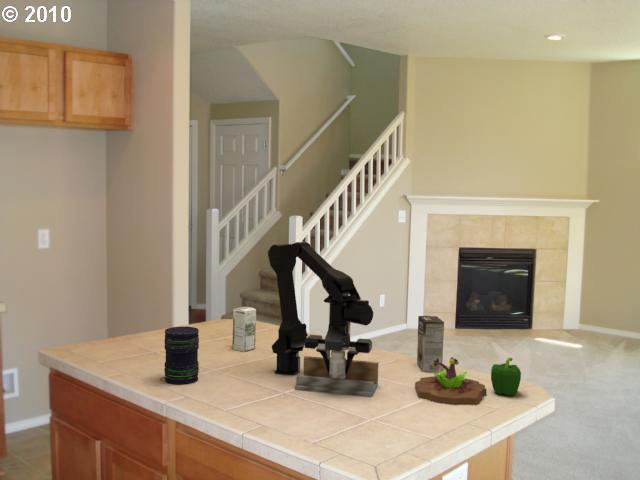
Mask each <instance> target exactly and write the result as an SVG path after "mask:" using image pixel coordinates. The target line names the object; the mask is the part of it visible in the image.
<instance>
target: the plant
mask: <svg viewBox="0 0 640 480" xmlns="http://www.w3.org/2000/svg"><path fill="white" fill-rule="evenodd" d="M448 362H449V367H448V366H447V365H445V363H443V362H442V363H439V362H434V363H433V364H432V367H434V368H435V367H436V366H437V364H439V365H441V366H442V368H444V370H442V371H439V372H438V373H437V372H432V374H433V375H434V376H427V377H426V376H424V377H420V379H419V380H418V381H415V383H414V390H415V393H416V396H417V398H418V397H419V398H418V399H421V398H422V399H423V400H426V399H427V401H429V400H430V401H429V402H432V401H433V402H432V403H437V404H443V403H444V405H453V406H457V405H458V406H460V405H470V406H477V405H479V404H480V402H481V401H483V397H485V396H487V391H488V390H487V388H486V385H485V384H483V383H481V382H479V381H477V380H474V379H471V378H467V377H465V376H467V372H461V373H459V374H458V375H457V372H456V365H459V360H458V359H457V358H454V357H453V356H451V357H450V359H449V361H448Z"/></svg>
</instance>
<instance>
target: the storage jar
mask: <svg viewBox="0 0 640 480" xmlns="http://www.w3.org/2000/svg"><path fill="white" fill-rule="evenodd" d="M199 332H200V331H199V328H197V327H193V326H173V327H167V328H165V330H164V342H163V343H164V350H165V362H164V365H163V366H164V369H163V371H164V377H165V378H164V382H165V383H166V384H169V385H174V386H186V385H191V384H196V383H197V382H198V381H199V371H200V369H199V368H200V367H199V364H200V363H199V361H198V360H199V359H198V356H199V355H198V354H199V352H198V350H199V345H200V338H199Z"/></svg>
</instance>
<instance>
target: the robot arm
mask: <svg viewBox="0 0 640 480" xmlns="http://www.w3.org/2000/svg"><path fill="white" fill-rule="evenodd" d="M267 256H268V262H269V266H270V267H271V269H272V270H273V272H274V273H275V274H276V280H277V289H278V297H279V305H280V306H279V307H280V313H281V314H280V315H281V322H280V326H279V328H278V329H277V331H278V336H277V337H278V338H277V339H276V340H275V341H274V342H273V344H272V345H271V349H272V350H271V351H272V353H274V354H276V370H274V373H275V374H280V375H282V374H283V375H293V376H295V375H297V373H298V372H299V371H300V370H301V356H300V355H299V354H300V352H303V351H304V348H305V349H311V350H312V349H314V350H315V351H316V352H318V353H320V355H321V356H322V358H323V359H324V362H325V365H326V368H327V371H328V373H329V369H330V358H331V351H332V350H334V351H341V350H342V348H343V347H346V348H349V349H348V351H347V352H346V360H347V361H346V369H345V374H347V373H348V370H349V368H350V365H351V362H352V360H354V358H355V356H358V355H359V354H360V353H361V354H370V352H371V351H372V348H373V342H372V339H369V338H357V340H356V341H353V340H352V341H351V333H350V334H349V322H351V323H352V324H357V325H361V326H369V325H370V324H371V322H372V321H373V318H374V311H373V307H372V306H371V305H370V302H369V300H366V299H365V300H364V299H363V300H362V298H361V296H360V293H359V292H358V290H357V288H356V285H355V284H354V280H353V279H354V278H352V277H351V276H350V275H348V274H347V273H345V272H344V271H341V270H339V269H336V268H334V267H332V266H331V264H329V262H328V261H326V260H325V259H324V258H323V257H322V256H321V255H320V254H319V253H318V251H315V249H314V248H313V247H311V244H310V243H309V242H307V241H298V242H294V243H280V244H272V245H271V246H270V247H269V249H268V251H267ZM297 258H298V259H299V260H300V261H301V262H303V263H304V265H306V267H308V268H309V269H310V271H312V273H314V274H315V275H316V277H318V278H319V279H320V280H321V284H322V288H323V289H324V290H325V291H326V293H327V294H328V296H327V297H326V298H325V299H323V302H324V303H328V304H329V312H328V315H329V316H328V319H329V320H328V326H327V329H328V330H327V331H326V335H325V337H324V338H323V336H322V335H319V334H309V335H308V333H307V324H306V323H302V321H301V320H300V319H299V315H298V314H299V313H298V305H297V304H298V303H297V297H296V291H295V290H296V289H295V282H294V275H293V273H294V272H293V271H294V270H295V266H296V264H297ZM345 295H349V296H345ZM342 296H343V297H342ZM351 323H350V324H351Z"/></svg>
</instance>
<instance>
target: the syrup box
mask: <svg viewBox="0 0 640 480" xmlns="http://www.w3.org/2000/svg"><path fill="white" fill-rule="evenodd" d="M256 323H257V309H256V308H254V307H252V306H251V307H250V306H243V307H242V306H241V307H237V308H233V314H232V350H233V351H237V352H238V351H239V352H243V353H245V352H249V351H252V350H255V349H256V329H257V328H256Z"/></svg>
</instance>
